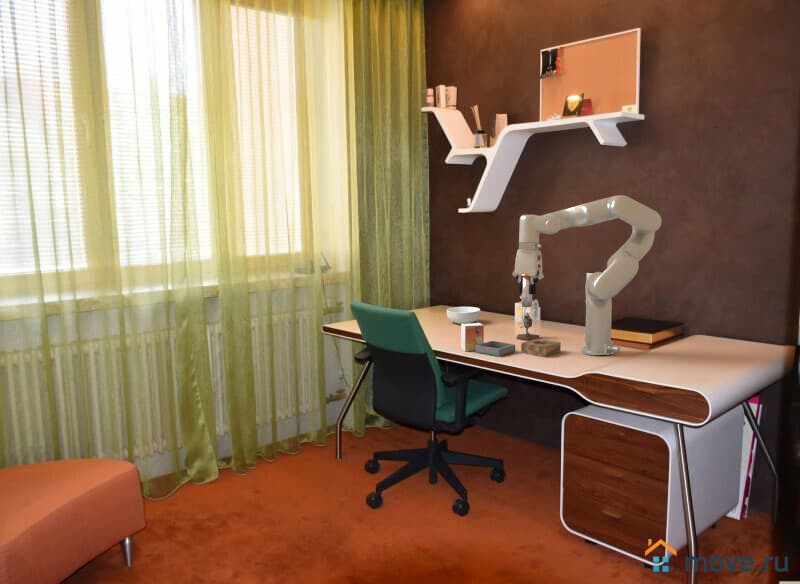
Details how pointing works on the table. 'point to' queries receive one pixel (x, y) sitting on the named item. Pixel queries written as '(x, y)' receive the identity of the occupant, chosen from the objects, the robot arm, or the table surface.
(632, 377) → the table surface
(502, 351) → the tray
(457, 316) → the cereal bowl
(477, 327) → the small box
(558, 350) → the block
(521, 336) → the bonsai tree
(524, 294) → the pin
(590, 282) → the robot arm
